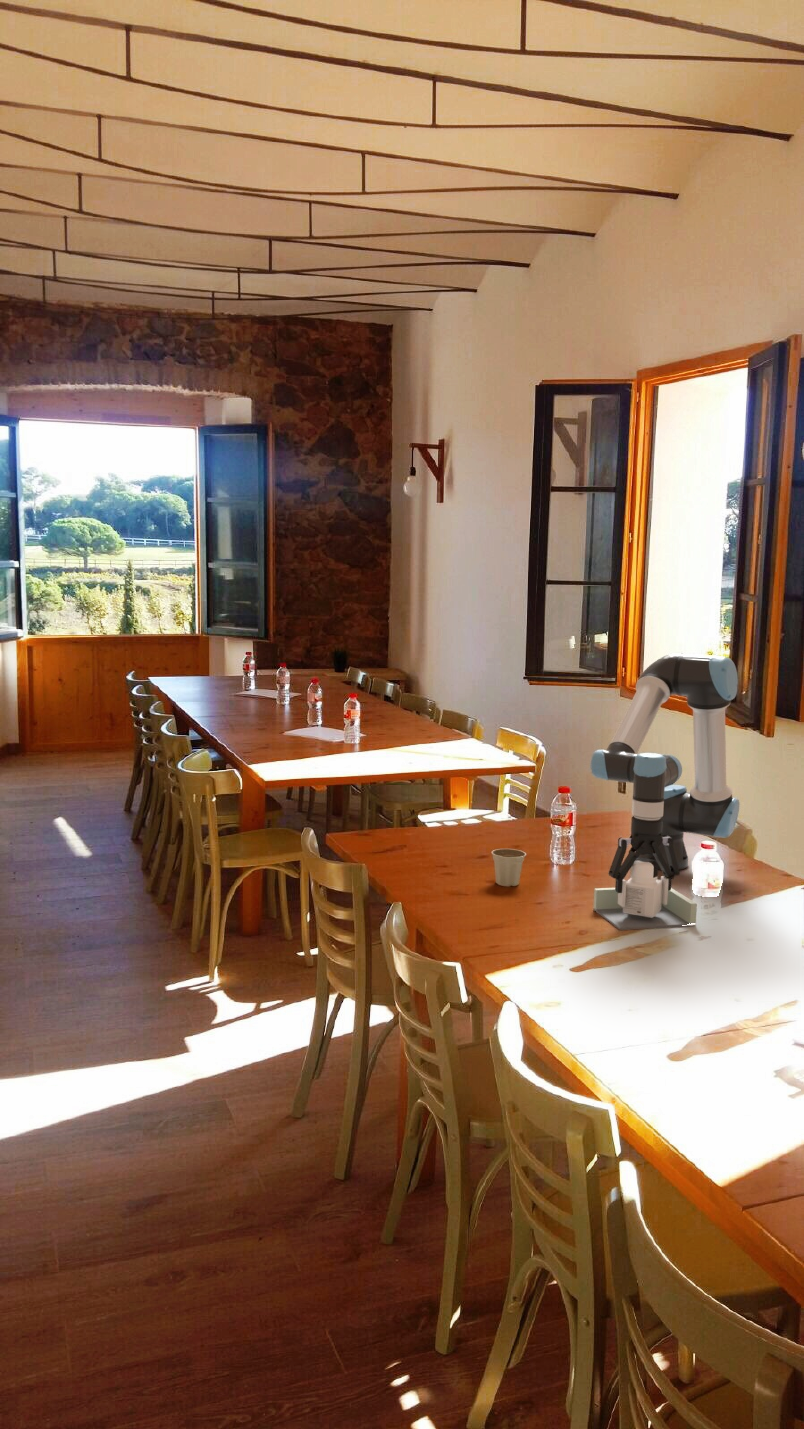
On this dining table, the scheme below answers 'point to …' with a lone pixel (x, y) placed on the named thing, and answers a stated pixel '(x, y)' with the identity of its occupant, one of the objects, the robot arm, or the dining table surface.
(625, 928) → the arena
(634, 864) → the container
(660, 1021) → the dining table surface
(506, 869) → the flower pot
